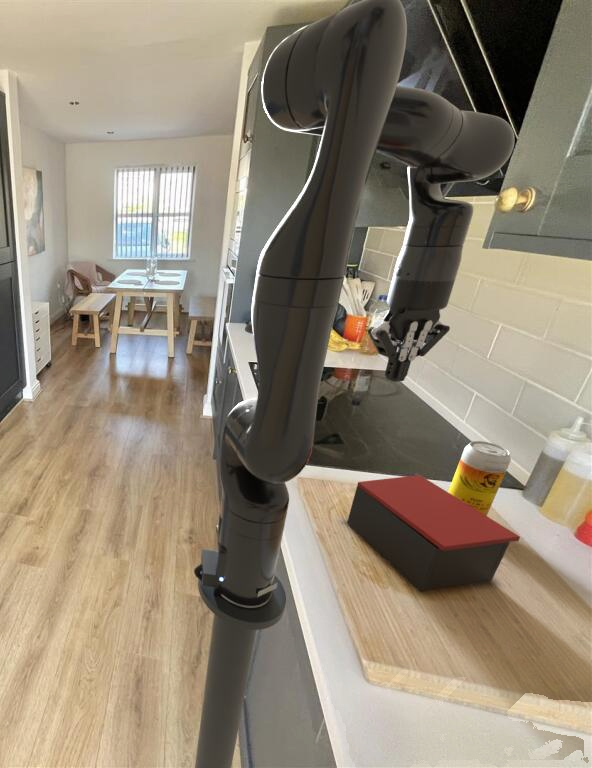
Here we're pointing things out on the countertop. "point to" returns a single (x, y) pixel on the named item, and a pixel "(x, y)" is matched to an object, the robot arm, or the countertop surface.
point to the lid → (437, 513)
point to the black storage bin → (421, 549)
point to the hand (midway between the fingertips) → (394, 379)
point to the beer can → (480, 474)
